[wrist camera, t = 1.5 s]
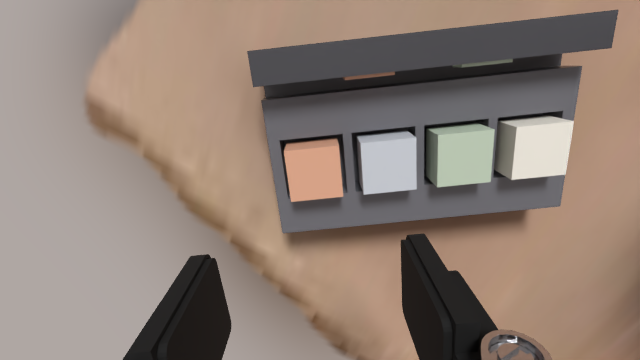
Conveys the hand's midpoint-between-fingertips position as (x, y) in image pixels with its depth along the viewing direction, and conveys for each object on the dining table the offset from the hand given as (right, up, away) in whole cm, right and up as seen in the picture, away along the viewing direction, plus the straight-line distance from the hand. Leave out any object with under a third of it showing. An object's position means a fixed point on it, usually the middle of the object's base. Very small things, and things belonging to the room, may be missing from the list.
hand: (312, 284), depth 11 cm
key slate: (+5, +5, +13) cm, 15 cm away
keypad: (+7, +8, +15) cm, 18 cm away
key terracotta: (0, +5, +13) cm, 14 cm away
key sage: (+10, +6, +13) cm, 17 cm away
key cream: (+15, +6, +13) cm, 20 cm away
